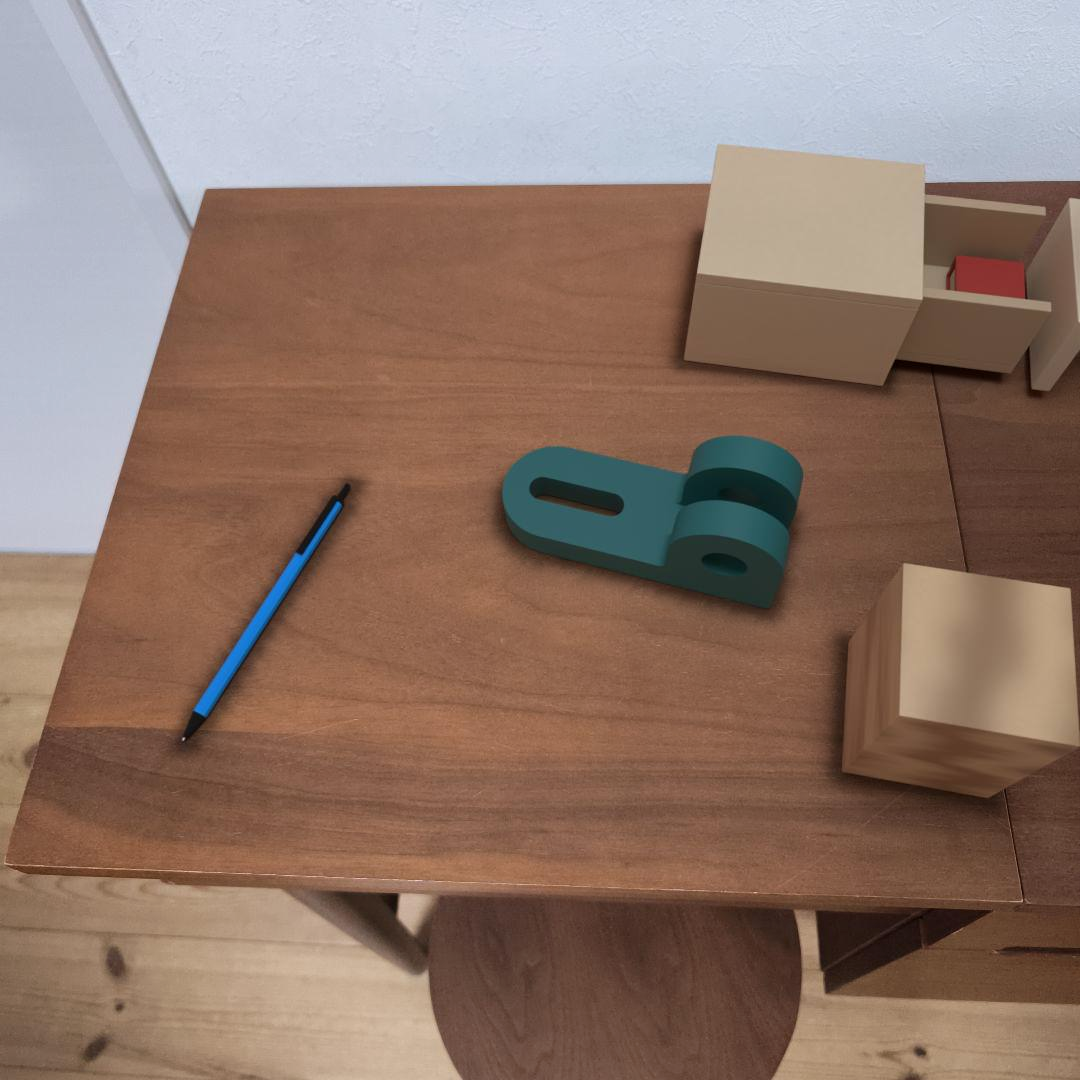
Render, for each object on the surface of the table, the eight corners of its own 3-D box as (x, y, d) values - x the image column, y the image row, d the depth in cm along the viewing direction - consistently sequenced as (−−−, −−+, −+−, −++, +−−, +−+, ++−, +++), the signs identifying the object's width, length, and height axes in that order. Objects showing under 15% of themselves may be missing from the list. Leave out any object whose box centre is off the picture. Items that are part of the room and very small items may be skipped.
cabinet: (887, 259, 71) (925, 164, 63) (882, 386, 65) (923, 299, 57) (702, 238, 72) (717, 143, 64) (683, 360, 67) (696, 272, 59)
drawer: (1118, 282, 67) (1172, 208, 61) (1131, 402, 63) (1190, 335, 57) (864, 253, 70) (891, 178, 64) (858, 367, 65) (886, 298, 59)
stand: (985, 664, 56) (1071, 587, 46) (988, 798, 52) (1081, 746, 43) (848, 641, 57) (903, 562, 47) (841, 772, 53) (899, 715, 44)
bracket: (787, 516, 61) (814, 450, 54) (768, 609, 58) (794, 552, 51) (522, 454, 64) (514, 384, 57) (491, 540, 61) (479, 477, 54)
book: (1012, 282, 66) (1024, 262, 65) (1014, 349, 64) (1027, 330, 62) (946, 275, 67) (956, 254, 65) (945, 341, 64) (956, 321, 62)
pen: (355, 490, 63) (351, 482, 62) (191, 745, 56) (184, 740, 55) (344, 485, 64) (340, 477, 63) (179, 739, 56) (172, 734, 55)
